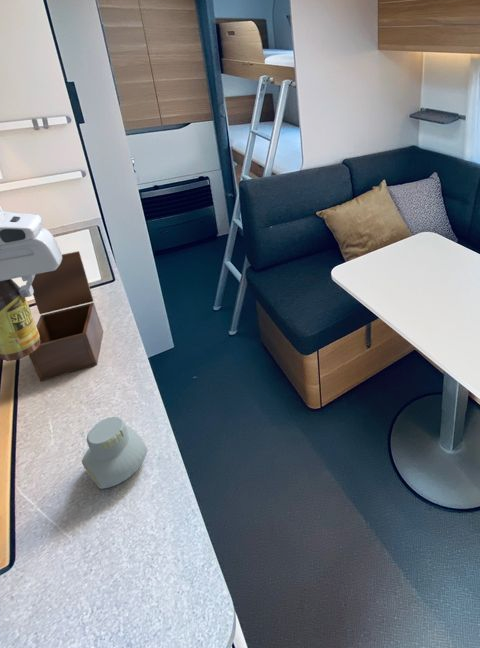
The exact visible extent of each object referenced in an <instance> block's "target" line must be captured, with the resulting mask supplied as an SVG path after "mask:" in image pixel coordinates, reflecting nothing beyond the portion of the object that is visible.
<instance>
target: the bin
mask: <svg viewBox="0 0 480 648" xmlns="http://www.w3.org/2000/svg"><path fill="white" fill-rule="evenodd" d="M36 327H37V330H38V332H39V335H40V337H39V338H40V346H39V347H38V349H36V350H35V351H34V352H33V353H31V354H29V355H28V357H29V359H30V361H31V364H32V367H33V368H34V371H35V373H36V375H37V377H38V380H39V381H40V382H44V381H47V380H50V379H53V378H58V377H60V376H61V377H62V376H64V375H68V374H72V373H74V372H78V371H81V370H84V369H87V368H91V367H94V366H97V365H98V362H99V356H100V350H101V346H102V341H103V336H104V329H103V326H102V323H101V320H100V317H99V314H98V311H97V309H96V305H95V303H94V302H89V303H85V304H81V305H77V306H73V307H69V308H64V309H60V310H56V311H52V312H48V313H44V314H40V316H39V318H38V321H37V323H36Z"/></svg>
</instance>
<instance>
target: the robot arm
mask: <svg viewBox="0 0 480 648" xmlns="http://www.w3.org/2000/svg"><path fill="white" fill-rule="evenodd" d="M43 223H44V222H43V218H42V216H41V215H39V214H34V213H21V212H13V211H12V212H11V211H4V210H3V208H2V206H1V205H0V281H4V280H9V279H12V280H13V279H19V278H21V281H23V282H26V284H23V285H21V286H19V287H20V288H21V289H19V294H20V295H21V298H25V297H26V298H30V297H33V293H34V290H33V288H32V285H31V284H32V282H33V280H34V277H35V275H36V274H39V273H44V272H50V271H54V270H56V269H57V268H58V267H59V265H60V263H61V261H62V252H61V249H60V246H59V244H58V243H57V240H56V238H55V237H54V235H53V234H52V233H51V231H50V230H48V229H47V228H44V227H43V225H44V224H43Z"/></svg>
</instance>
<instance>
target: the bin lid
mask: <svg viewBox="0 0 480 648" xmlns="http://www.w3.org/2000/svg"><path fill="white" fill-rule="evenodd" d="M61 254H62V253H61ZM89 283H90V282H89V281H88V277H87V273H86V270H85V266H84V262H83V260H82V256H81V252H80V251H79V250H78V251H77V250H76V251H72V252H67V253H63V254H62V261H61V263H60V265H59V267H58V268H57V269H56V270H54V271H50V272H44V273H39V274H36V275H35V277H34V280H33V282H32V284H31V285H32V288H33V290H34V293H33V295H32V297H33V299H34V302H35V305H36V307H37V310H38V313H39V315H45V314H48V313H52V312H56V311H61V310H65V309H69V308H73V307H77V306H81V305H85V304H90V303H94V297H93V293H92V290H91V288H90V287H91V286H90V284H89Z"/></svg>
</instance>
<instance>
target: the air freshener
mask: <svg viewBox="0 0 480 648" xmlns="http://www.w3.org/2000/svg"><path fill="white" fill-rule="evenodd" d="M86 444H87V446H88V449H87V450H86V451H85V453H84V455H83V457H82V459H81V465H82V466H83V468H84V470H85V471H86V473H87V474H88V476H89V477H90V479H91V481H93V483H94V484H95V485H96V486H97V487H98V488H99V489H107V488H108V489H109V488H111V487H112V488H113V487H115V486H117V485H120V484H121V483H122V482H124V481H126V480H128V479H129V478H130V477H131V476H132V475H134V473H135V472H137V471H138V469H139V468H140V467H141V465H142V464H143V462H144V461H145V459H146V457H147V453H148V447H147V444H145V442H144V440H143V439H142V437H141V436H140V435H139V434H138V433H137V432H136V431H135V429H133V428H132V427H130V426H126V423H125V420H124V419H123V418H122V417H119V416H110V417H107V418H104V419H102V420H100V421H99V422H97V423H96V424H94V426H93V427H92V428H91V429H90V430H89V431H88V433H87V436H86Z"/></svg>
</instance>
